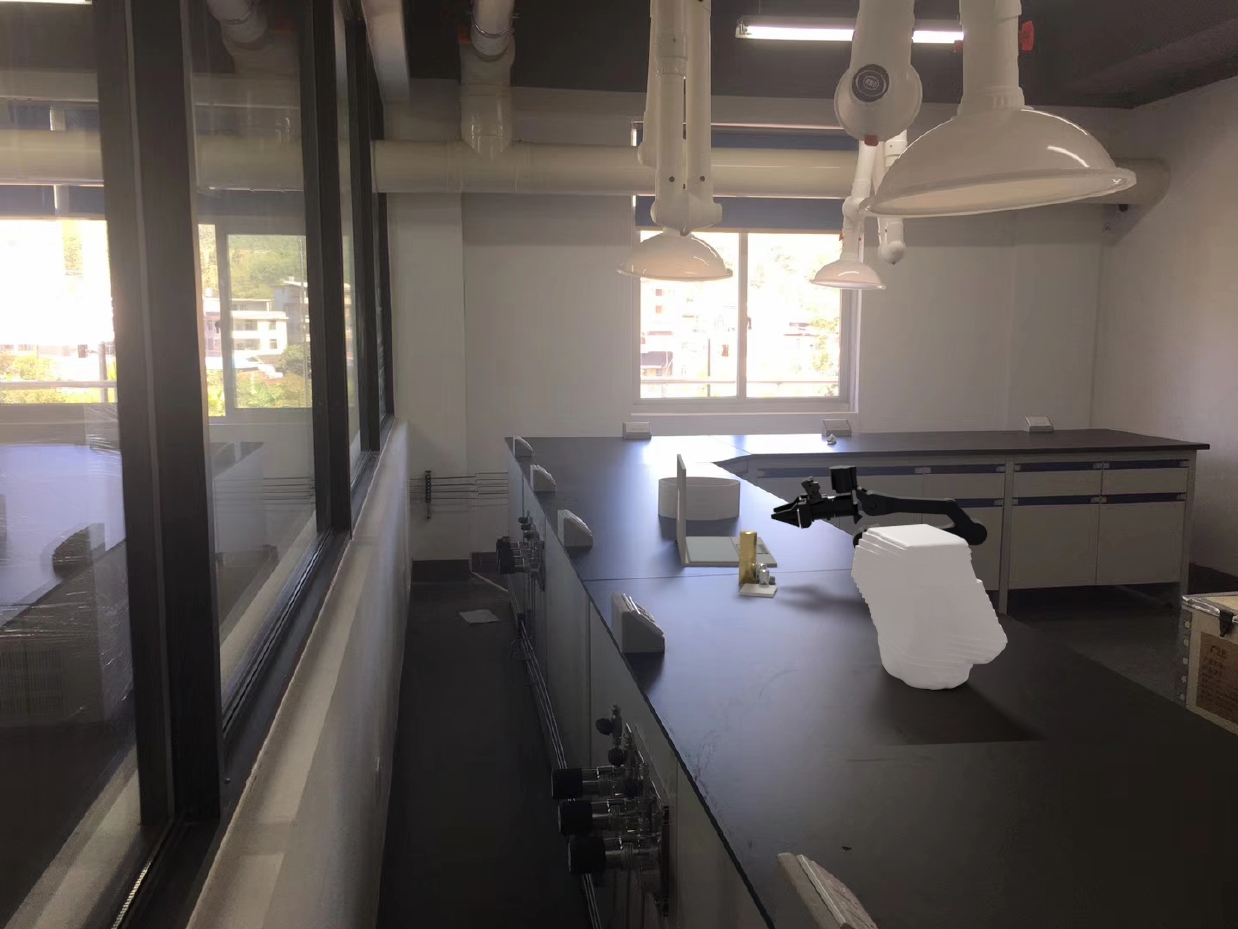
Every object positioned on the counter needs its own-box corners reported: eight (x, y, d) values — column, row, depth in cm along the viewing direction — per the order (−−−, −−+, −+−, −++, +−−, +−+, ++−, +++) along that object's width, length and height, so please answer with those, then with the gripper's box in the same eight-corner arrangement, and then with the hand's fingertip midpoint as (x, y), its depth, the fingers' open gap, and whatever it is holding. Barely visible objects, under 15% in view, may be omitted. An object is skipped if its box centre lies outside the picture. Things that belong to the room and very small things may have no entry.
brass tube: (757, 581, 237) (758, 531, 235) (754, 585, 233) (755, 534, 231) (740, 580, 238) (741, 530, 236) (737, 584, 234) (738, 533, 232)
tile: (777, 588, 229) (777, 585, 229) (773, 597, 222) (773, 594, 222) (744, 586, 232) (745, 583, 232) (739, 594, 224) (739, 591, 224)
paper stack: (941, 650, 184) (947, 522, 180) (1008, 702, 157) (1017, 554, 154) (837, 653, 182) (841, 524, 179) (887, 706, 155) (893, 556, 152)
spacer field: (777, 578, 239) (777, 563, 239) (772, 588, 230) (772, 572, 229) (746, 576, 242) (746, 561, 241) (739, 585, 232) (740, 570, 232)
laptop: (777, 568, 252) (779, 469, 249) (681, 567, 253) (681, 469, 249) (760, 541, 287) (761, 454, 283) (675, 540, 287) (676, 453, 284)
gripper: (829, 471, 245) (770, 477, 249) (829, 481, 227) (765, 488, 231) (834, 512, 246) (775, 518, 250) (834, 525, 228) (771, 532, 232)
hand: (772, 513), depth 240 cm, fingers open, 9 cm apart
